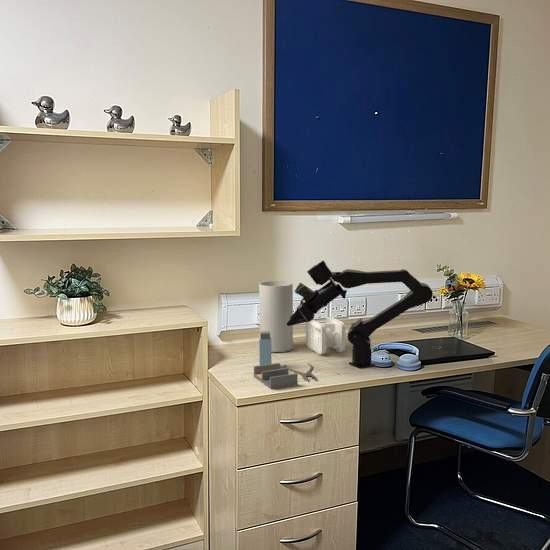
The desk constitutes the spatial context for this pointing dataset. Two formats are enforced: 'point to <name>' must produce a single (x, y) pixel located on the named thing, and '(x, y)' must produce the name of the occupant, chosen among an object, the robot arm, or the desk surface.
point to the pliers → (305, 375)
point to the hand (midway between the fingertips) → (288, 322)
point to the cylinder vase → (277, 313)
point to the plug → (265, 348)
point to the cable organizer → (325, 335)
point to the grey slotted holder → (275, 376)
